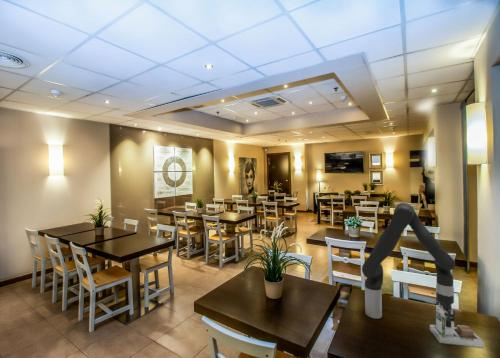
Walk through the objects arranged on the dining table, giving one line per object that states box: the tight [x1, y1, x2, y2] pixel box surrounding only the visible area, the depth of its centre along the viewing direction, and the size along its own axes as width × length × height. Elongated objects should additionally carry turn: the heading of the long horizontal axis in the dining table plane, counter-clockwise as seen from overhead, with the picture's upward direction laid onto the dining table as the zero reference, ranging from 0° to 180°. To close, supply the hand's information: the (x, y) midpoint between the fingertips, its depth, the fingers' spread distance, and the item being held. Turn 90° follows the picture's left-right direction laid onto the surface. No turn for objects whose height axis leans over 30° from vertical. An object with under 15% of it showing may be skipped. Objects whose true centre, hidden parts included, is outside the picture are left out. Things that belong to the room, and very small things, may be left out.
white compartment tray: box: [429, 324, 485, 349], centre depth 133 cm, size 11×19×3 cm, turn 77°
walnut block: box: [456, 324, 475, 339], centre depth 132 cm, size 5×5×6 cm
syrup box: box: [435, 304, 455, 337], centre depth 134 cm, size 6×6×14 cm
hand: (444, 323), depth 134 cm, fingers closed on syrup box, 6 cm apart
